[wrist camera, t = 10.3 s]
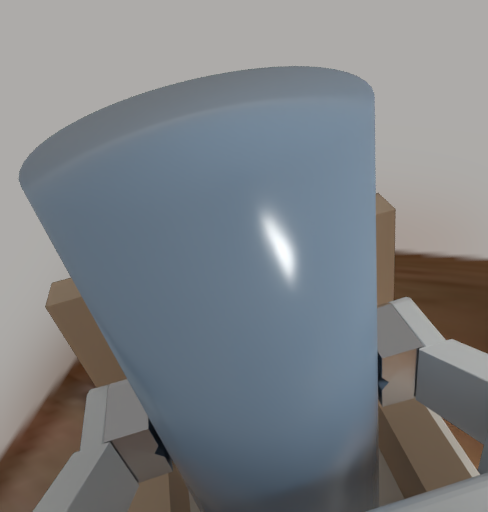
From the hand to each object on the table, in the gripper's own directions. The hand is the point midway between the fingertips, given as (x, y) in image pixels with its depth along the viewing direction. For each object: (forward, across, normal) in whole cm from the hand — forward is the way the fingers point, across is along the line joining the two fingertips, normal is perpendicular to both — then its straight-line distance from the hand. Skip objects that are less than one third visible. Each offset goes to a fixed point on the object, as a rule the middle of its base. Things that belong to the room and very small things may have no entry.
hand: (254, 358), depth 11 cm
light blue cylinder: (-1, 0, +8) cm, 8 cm away
